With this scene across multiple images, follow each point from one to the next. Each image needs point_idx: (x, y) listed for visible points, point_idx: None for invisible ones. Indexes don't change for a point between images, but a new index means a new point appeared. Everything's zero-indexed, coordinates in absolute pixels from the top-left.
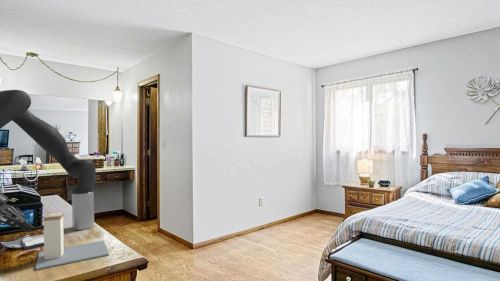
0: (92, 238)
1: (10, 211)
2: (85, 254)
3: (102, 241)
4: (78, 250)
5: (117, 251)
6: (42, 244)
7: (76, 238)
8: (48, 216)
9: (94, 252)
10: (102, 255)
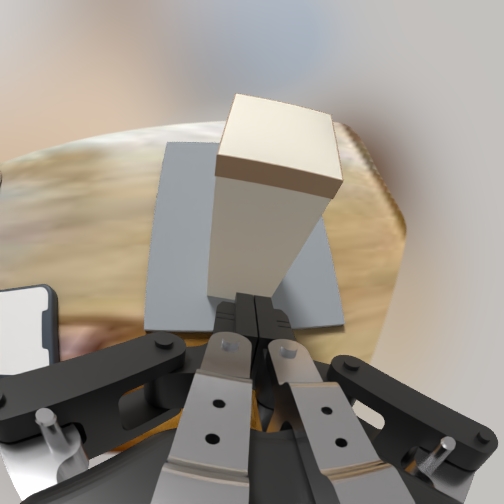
0: (102, 167)
1: (386, 473)
2: None
3: (176, 144)
4: None
5: None
6: (53, 315)
7: (58, 208)
8: (316, 154)
9: None
10: None
